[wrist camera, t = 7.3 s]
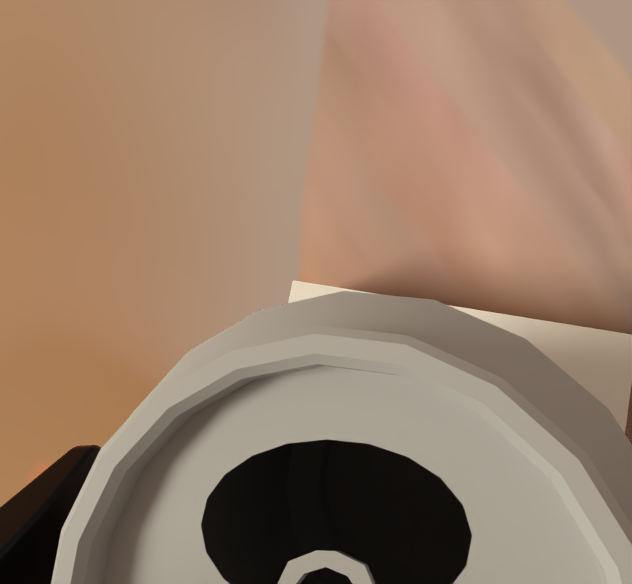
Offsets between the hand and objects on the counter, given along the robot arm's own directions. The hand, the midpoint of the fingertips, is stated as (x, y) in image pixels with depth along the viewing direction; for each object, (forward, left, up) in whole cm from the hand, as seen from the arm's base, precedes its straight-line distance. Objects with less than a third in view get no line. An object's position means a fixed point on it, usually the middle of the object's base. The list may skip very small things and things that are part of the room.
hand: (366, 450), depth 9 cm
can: (-2, 0, -9) cm, 9 cm away
